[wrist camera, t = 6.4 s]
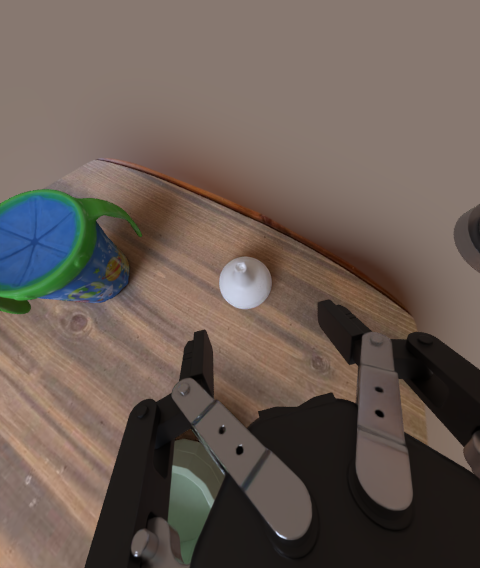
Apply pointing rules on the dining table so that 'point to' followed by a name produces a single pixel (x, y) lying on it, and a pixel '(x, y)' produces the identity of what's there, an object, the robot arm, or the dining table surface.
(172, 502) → the dish
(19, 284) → the snack cup
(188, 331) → the dining table surface
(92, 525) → the dining table surface
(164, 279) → the dining table surface
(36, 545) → the dining table surface
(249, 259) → the garlic bulb
